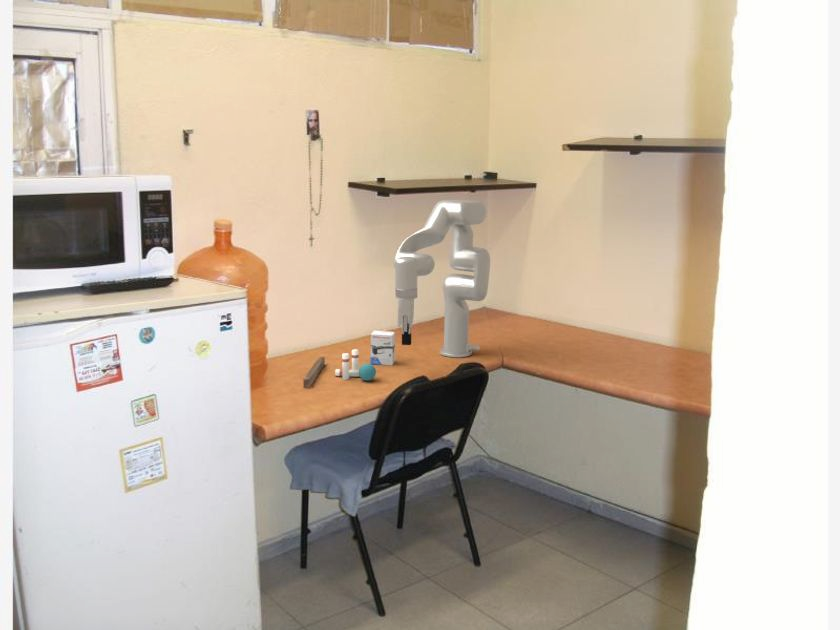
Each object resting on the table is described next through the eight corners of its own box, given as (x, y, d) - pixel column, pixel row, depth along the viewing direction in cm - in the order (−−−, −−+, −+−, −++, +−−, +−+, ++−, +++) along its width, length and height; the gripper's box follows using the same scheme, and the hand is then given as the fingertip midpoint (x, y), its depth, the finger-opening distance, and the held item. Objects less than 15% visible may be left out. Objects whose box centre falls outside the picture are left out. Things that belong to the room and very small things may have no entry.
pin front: (361, 370, 283) (336, 369, 284) (360, 369, 281) (335, 368, 281) (361, 377, 283) (335, 376, 283) (360, 376, 280) (334, 375, 281)
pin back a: (359, 373, 286) (359, 349, 284) (358, 375, 283) (358, 351, 281) (352, 373, 286) (352, 349, 284) (351, 375, 283) (351, 351, 281)
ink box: (370, 364, 298) (370, 333, 295) (372, 360, 303) (372, 330, 300) (392, 365, 297) (392, 334, 294) (394, 362, 301) (395, 331, 299)
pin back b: (349, 378, 280) (349, 353, 278) (348, 380, 278) (348, 355, 276) (342, 377, 281) (342, 353, 279) (341, 379, 278) (341, 354, 276)
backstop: (324, 364, 296) (324, 356, 295) (309, 387, 269) (309, 379, 268) (319, 364, 296) (319, 356, 295) (303, 387, 269) (303, 379, 268)
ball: (360, 375, 282) (376, 369, 282) (363, 386, 277) (379, 380, 277) (355, 363, 278) (371, 357, 278) (357, 374, 273) (374, 369, 273)
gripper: (397, 288, 281) (397, 338, 286) (393, 297, 267) (393, 350, 272) (418, 288, 281) (418, 338, 285) (415, 298, 266) (415, 350, 271)
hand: (406, 344), depth 278 cm, fingers closed
